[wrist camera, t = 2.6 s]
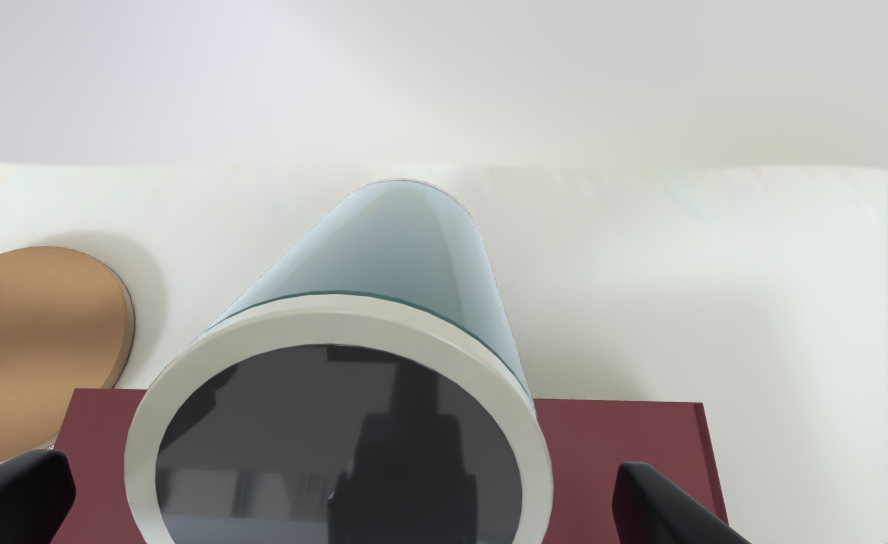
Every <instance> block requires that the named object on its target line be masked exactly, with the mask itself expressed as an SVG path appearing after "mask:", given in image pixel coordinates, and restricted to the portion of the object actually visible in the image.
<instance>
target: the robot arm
mask: <svg viewBox="0 0 888 544" xmlns="http://www.w3.org/2000/svg"><path fill="white" fill-rule="evenodd" d="M75 498H76V486H75V483H74V479H73V476H72V472H71V469H70V466H69V462H68V459H67V456H66V455H65V454H64V453H63V452H62V451H60V450H47V449H37V450H31V451H28V452H26V453H24V454H22V455H20V456H17V457H15V458H13V459H11V460H9V461H6V462H4V463H2V464H0V544H50V543H51V541H52V539H53V538H54V536H55V534H56V533H57V531H58V529H59V528H60V526H61V524H62V523H63V521H64V519H65V518H66V516H67V515H68V513H69V511H70V510H71V508H72V506H73V504H74V501H75ZM612 513H613V518H614V522H615V525H616V529H617V533H618V537H619V540H620V544H751V543H750V542H748V541H747V540H746V539H745V538H743V537H742V536H741V535H739V534H738V533H737V532H736V531H734V530H733V529H732V528H730V527H729V526H728V525H727V524H725V523H724V522H723V521H721V520H720V519H719V518H718V517H716V516H715V515H714V514H713V513H711V512H710V511H709V510H707V509H706V508H705V507H704V506H702V505H701V504H700V503H698V502H697V501H696V500H695V499H693V498H692V497H691V496H689V495H688V494H687V493H686V492H684V491H683V490H682V489H680V488H679V487H678V486H677V485H675V484H674V483H673V482H671V481H670V480H669V479H668V478H666V477H665V476H664V475H662V474H661V473H660V472H659V471H657V470H656V469H655V468H654V467H652V466H651V465H649V464H648V463H645V462H623V463H621V464H620V466H619V468H618V472H617V477H616V482H615V487H614V492H613V497H612Z"/></svg>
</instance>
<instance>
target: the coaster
mask: <svg viewBox="0 0 888 544" xmlns="http://www.w3.org/2000/svg"><path fill="white" fill-rule="evenodd" d="M133 332H134V315H133V307H132V303H131V300H130V296H129V294H128V292H127V290H126V288H125V286H124V285H123V283H122V282H121V280H120V279H119V277H118V276H117V275H116V274H115V273H114V272H113V271H112V270H111V269H109V268H108V267H106V266H105V265H103V264H102V263H101V262H99V261H98V260H96V259H95V258H93V257H91V256H89V255H87V254H85V253H82V252H79V251H76V250H73V249H67V248H61V247H47V246H43V247H29V248H24V249H18V250H13V251H10V252H6V253H2V254H0V464H2V463H4V462H6V461H9V460H11V459H13V458H15V457H17V456H20V455H22V454H24V453H26V452H28V451H31V450H37V449H46V448H48V447H49V446H51V445H53V444H55V442H56V439H57V437H58V434H59V431H60V428H61V425H62V422H63V420H64V417H65V414H66V411H67V408H68V406H69V403H70V400H71V397H72V394H73V391H74V389H75V388H98V389H112V387H113V386H114V384H115V383H116V381H117V379H118V378H119V376H120V374H121V372H122V370H123V367H124V365H125V363H126V361H127V358H128V355H129V352H130V349H131V344H132V339H133Z"/></svg>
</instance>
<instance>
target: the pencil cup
mask: <svg viewBox="0 0 888 544" xmlns="http://www.w3.org/2000/svg"><path fill="white" fill-rule="evenodd" d="M124 481H125V487H126V493H127V499H128V502H129V505H130V508H131V511H132V514H133V517H134V520H135V523H136V525H137V527H138V528H139V530H140V532H141V534H142V536H143V538H144V540H145V542H146V543H147V544H541V543H542V541H543V538H544V536H545V533H546V531H547V528H548V524H549V519H550V515H551V510H552V506H553V490H554V480H553V471H552V462H551V458H550V455H549V451H548V448H547V444H546V440H545V437H544V434H543V431H542V427H541V424H540V421H539V418H538V415H537V412H536V408H535V405H534V402H533V399H532V396H531V392H530V389H529V386H528V383H527V380H526V376H525V373H524V370H523V367H522V364H521V360H520V357H519V354H518V351H517V348H516V344H515V341H514V338H513V335H512V332H511V329H510V325H509V322H508V319H507V316H506V313H505V309H504V306H503V303H502V300H501V297H500V293H499V290H498V287H497V284H496V281H495V277H494V274H493V271H492V268H491V265H490V261H489V258H488V255H487V252H486V249H485V245H484V242H483V239H482V236H481V233H480V231H479V228H478V226H477V224H476V222H475V221H474V219H473V217H472V216H471V214H470V213H469V212H468V211H467V209H466V208H465V207H464V206H463V205H462V204H461V203H460V202H459V201H458V200H457V199H456V198H455V197H453V196H452V195H450V194H449V193H448V192H446V191H444V190H442V189H441V188H439V187H437V186H435V185H432V184H429V183H427V182H423V181H419V180H415V179H406V178H392V179H385V180H379V181H376V182H373V183H369V184H367V185H365V186H363V187H361V188H358V189H357V190H355V191H354V192H352V193H351V194H349V195H348V196H347V197H345V198H344V199H343V200H342V201H341V202H340V203H339V204H338V205H337V206H336V207H334V208H333V209H332V210H331V211H330V212H329V213H328V214H327V215H326V216H325V217H324V218H323V219H322V220H321V221H320V222H319V223H318V224H316V225H315V226H314V227H313V228H312V229H311V230H310V231H309V232H308V233H307V234H306V235H305V236H304V237H303V238H302V239H301V240H300V241H299V242H297V243H296V244H295V245H294V246H293V247H292V248H291V249H290V250H289V251H288V252H287V253H286V254H285V255H284V256H283V257H282V258H281V259H279V260H278V261H277V262H276V263H275V264H274V265H273V266H272V267H271V268H270V269H269V270H268V271H267V272H266V273H265V274H264V275H263V276H261V277H260V278H259V279H258V280H257V281H256V282H255V283H254V284H253V285H252V286H251V287H250V288H249V289H248V290H247V291H246V292H245V293H244V294H242V295H241V296H240V297H239V298H238V299H237V300H236V301H235V302H234V303H233V304H232V305H231V306H230V307H229V308H228V309H227V310H226V311H224V312H223V313H222V314H221V315H220V316H219V317H218V318H217V319H216V320H215V321H214V322H213V323H212V324H211V325H210V326H209V327H208V328H207V329H205V330H204V331H203V332H202V333H201V334H200V335H199V336H198V337H197V338H196V339H195V340H194V341H193V342H192V343H191V344H190V345H189V346H188V347H187V348H186V349H184V350H183V351H182V352H181V353H180V354H179V355H178V356H177V357H176V358H175V359H174V360H173V361H172V362H171V363H170V364H168V365H167V366H166V367H165V369H164V370H163V371H162V372H161V373H160V375H159V376H158V377H157V378H156V379H155V381H154V382H153V383H152V384H151V385H150V387H149V388H148V390H147V392H146V393H145V395H144V397H143V398H142V400H141V402H140V404H139V405H138V407H137V409H136V412H135V415H134V417H133V420H132V423H131V425H130V428H129V431H128V436H127V442H126V447H125V453H124Z"/></svg>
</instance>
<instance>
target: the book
mask: <svg viewBox="0 0 888 544" xmlns="http://www.w3.org/2000/svg"><path fill="white" fill-rule="evenodd" d="M146 392H147V390H141V389H98V388H75V389H74V391H73V394H72V397H71V400H70V403H69V406H68V408H67V411H66V414H65V417H64V420H63V422H62V425H61V428H60V431H59V434H58V437H57V439H56V442H55V445H54V448H53V450H60V451H62V452H63V453H64V454H65V455H66V456H67V459H68V462H69V466H70V469H71V472H72V476H73V479H74V483H75V486H76V498H75V501H74V504H73V506H72V508H71V510H70V511H69V513H68V515H67V516H66V518H65V519H64V521H63V523H62V524H61V526H60V528H59V529H58V531H57V533H56V534H55V536H54V538H53V539H52V541H51V543H50V544H147V543H146V542H145V540H144V538H143V536H142V534H141V532H140V530H139V528H138V527H137V525H136V523H135V520H134V517H133V514H132V511H131V508H130V505H129V502H128V499H127V493H126V487H125V481H124V453H125V447H126V442H127V436H128V431H129V428H130V425H131V423H132V420H133V417H134V415H135V412H136V409H137V407H138V405H139V404H140V402H141V400H142V398H143V397H144V395H145V393H146ZM533 402H534V405H535V408H536V412H537V415H538V418H539V421H540V424H541V427H542V431H543V434H544V437H545V440H546V444H547V448H548V451H549V455H550V458H551V462H552V471H553V480H554V490H553V506H552V510H551V515H550V519H549V524H548V528H547V531H546V533H545V536H544V538H543V541H542V543H541V544H620V540H619V537H618V533H617V529H616V525H615V522H614V518H613V513H612V497H613V492H614V487H615V482H616V477H617V472H618V468H619V466H620V464H621V463H623V462H645V463H648V464H649V465H651V466H652V467H654V468H655V469H656V470H657V471H659V472H660V473H661V474H662V475H664V476H665V477H666V478H668V479H669V480H670V481H671V482H673V483H674V484H675V485H677V486H678V487H679V488H680V489H682V490H683V491H684V492H686V493H687V494H688V495H689V496H691V497H692V498H693V499H695V500H696V501H697V502H698V503H700V504H701V505H702V506H704V507H705V508H706V509H707V510H709V511H710V512H711V513H713V514H714V515H715V516H716V517H718V518H719V519H720V520H721V521H723V522H724V523H725V524H727V525H728V526H729V523H728V519H727V514H726V509H725V505H724V500H723V495H722V491H721V486H720V481H719V477H718V472H717V468H716V463H715V458H714V454H713V449H712V444H711V440H710V435H709V430H708V426H707V421H706V416H705V412H704V407H703V403H695V402H653V401H610V400H567V399H533Z"/></svg>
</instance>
